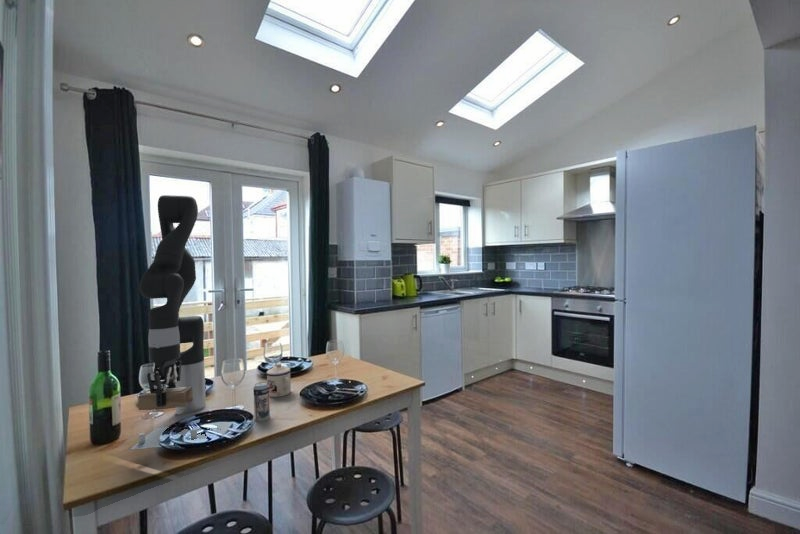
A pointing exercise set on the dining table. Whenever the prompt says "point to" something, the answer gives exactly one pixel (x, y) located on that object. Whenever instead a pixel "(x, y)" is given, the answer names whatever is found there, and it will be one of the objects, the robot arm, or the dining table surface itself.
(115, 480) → the dining table surface
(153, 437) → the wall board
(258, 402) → the beer can
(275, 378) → the teacup with lid
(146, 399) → the brown rectangular block
